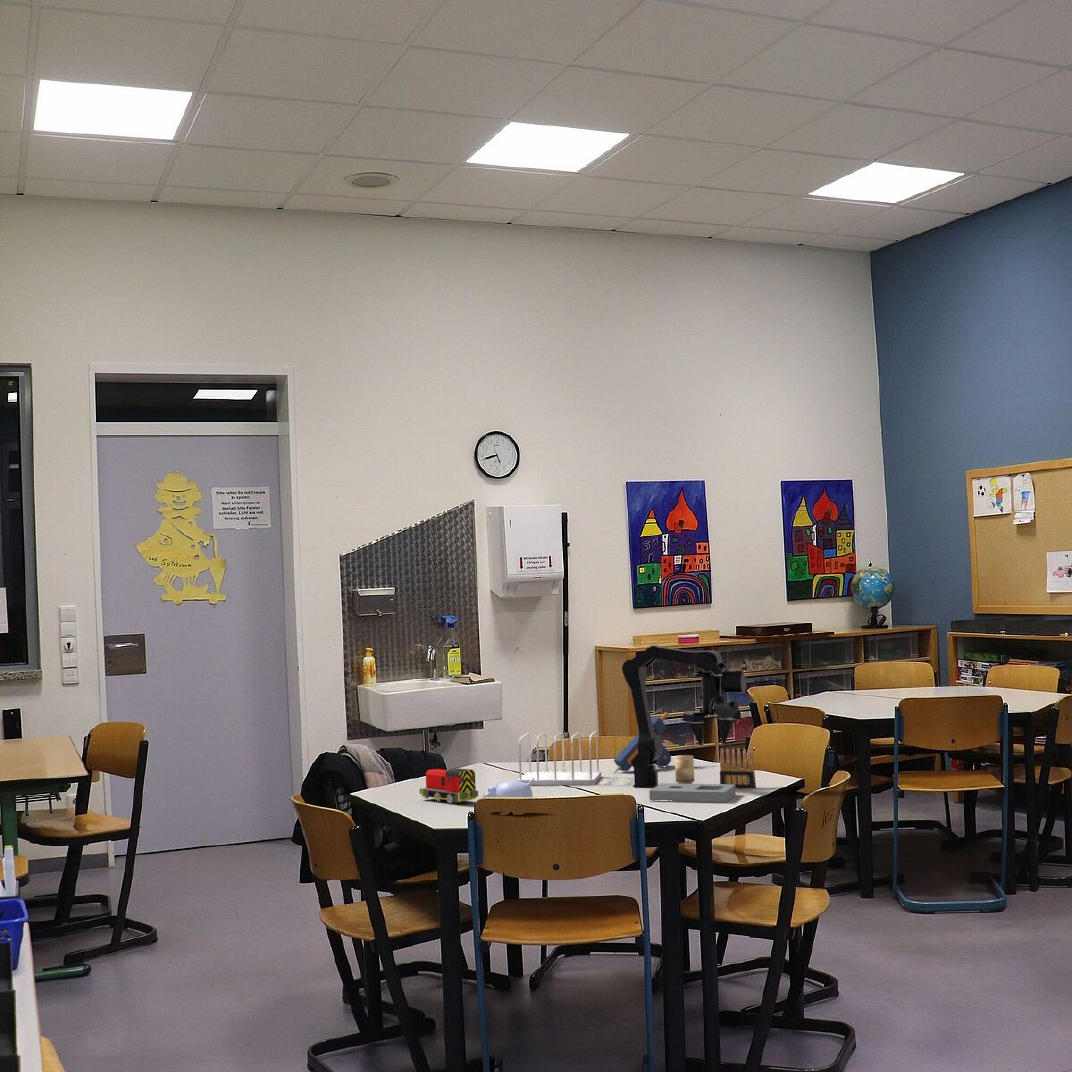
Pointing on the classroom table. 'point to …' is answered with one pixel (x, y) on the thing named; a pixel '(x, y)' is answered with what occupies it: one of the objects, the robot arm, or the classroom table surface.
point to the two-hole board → (693, 792)
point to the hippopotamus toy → (510, 790)
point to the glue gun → (632, 748)
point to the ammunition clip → (737, 769)
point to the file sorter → (563, 777)
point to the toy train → (450, 785)
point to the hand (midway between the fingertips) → (712, 743)
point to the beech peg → (684, 769)
